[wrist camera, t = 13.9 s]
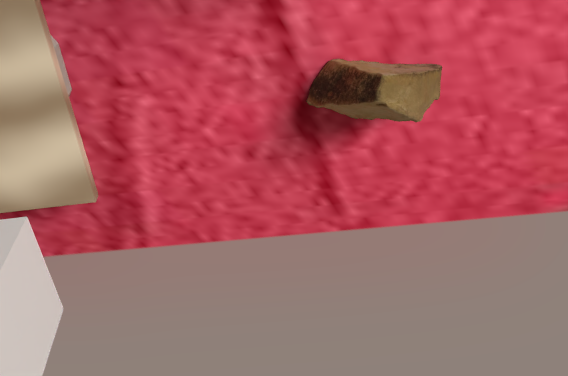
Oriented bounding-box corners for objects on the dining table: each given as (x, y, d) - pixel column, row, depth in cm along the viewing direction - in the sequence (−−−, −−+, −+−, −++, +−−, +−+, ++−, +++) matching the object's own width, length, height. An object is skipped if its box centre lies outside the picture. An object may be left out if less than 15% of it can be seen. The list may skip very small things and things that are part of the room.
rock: (480, 48, 43) (385, -7, 39) (483, 143, 40) (381, 95, 35) (388, 102, 52) (302, 62, 47) (385, 183, 49) (293, 149, 44)
